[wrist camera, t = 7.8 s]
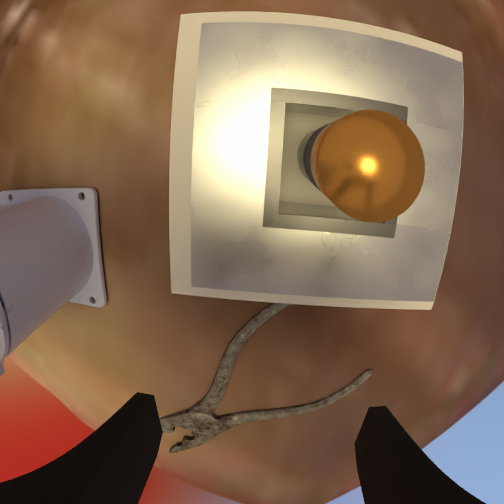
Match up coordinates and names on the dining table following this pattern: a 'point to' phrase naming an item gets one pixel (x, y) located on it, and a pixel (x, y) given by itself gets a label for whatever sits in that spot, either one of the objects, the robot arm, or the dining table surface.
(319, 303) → the stand base
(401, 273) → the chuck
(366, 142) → the orange topped can
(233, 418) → the pliers
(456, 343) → the dining table surface
